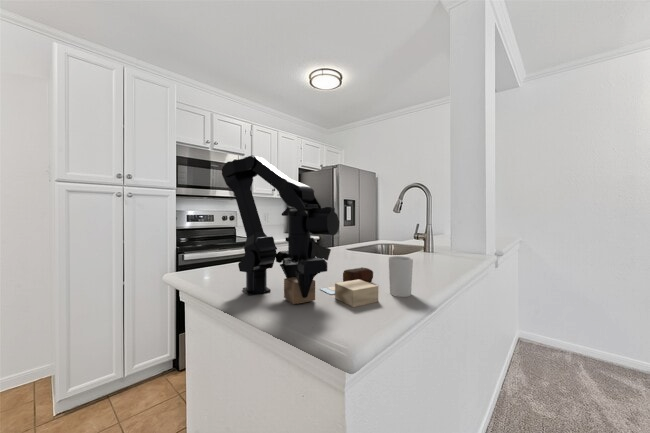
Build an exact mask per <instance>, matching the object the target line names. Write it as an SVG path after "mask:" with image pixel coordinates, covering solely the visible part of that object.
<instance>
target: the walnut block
mask: <svg viewBox="0 0 650 433" xmlns="http://www.w3.org/2000/svg"><path fill="white" fill-rule="evenodd" d="M283 299H285V300H286V301H288V302H290V303H292V305H298V304H302V303H303V304H304V303H308V302H312V301H313V302H314V301H316V280H314V279H313V281H312V284H311V287H310V290H309V293H308V296H307V297H306V298H303V297H302V294H301V291H300V287H299V284H298V280H297V277H293V278H286V277H285V278H283Z"/></svg>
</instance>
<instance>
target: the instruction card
mask: <svg viewBox="0 0 650 433" xmlns="http://www.w3.org/2000/svg"><path fill="white" fill-rule="evenodd" d="M319 290H320V291H321V292H324V293H326V294H328V295H330V296H333V295H335V285H334V286H329V287H323V288H319Z"/></svg>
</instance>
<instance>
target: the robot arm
mask: <svg viewBox="0 0 650 433" xmlns="http://www.w3.org/2000/svg"><path fill="white" fill-rule="evenodd" d="M221 174H222V178H223V180H224V182H225V185H226V186H227V187H228V188H229V189H230V190H231V191H232V192H233V194H234V198H235V201H236V204H237V208H238V211H239V214H240V219H241V222H242V225H243V228H244V233H245V235H246V239H245V243H244V248H243V249H244V256H242V258H241V260H239V262H238V264H237V265H238V271H239V272H243V273H245V275H246V276H245V280H246V282H245V287H242V290H243V292H244V293H245V294H247V295H248V296H249V295H250V296H252V295H256V294H257V295H258V294H264V293H269V292H271V289H270V288H269V287H267V285H268V284H267V281H268V280H267V274H268V273H267V271H268V269H273V267H274V264H275V262H276V263H279V267H280V268H281V270H282V272H283V274H284V276H285V278H293V277H297V280H298V284H299V287H300V291H301V294H302V297H303V298H306V297H307V296H308V293H309V290H310V287H311V284H312V281H313V280H314V278H315V276H317V275H318V274H321V273H324V272H328V261H329V258H330V255H331V251H332V249H331V248H329V247H325V246H322V245H320V242H317V241H316V240H315V239H314V237H312V236H311V235H317V236H318V235H319V236H321V235H322V236H336V235H337V233H338V231H339V228H340V220H339V217H338V214H337V213H336V210H335V208H336V207H335V206H325V207H322V205H321V204H320V202H319V201H318V199H317V197H316V196H315V191H314V188H312V187H311V186H309V185H307V184H304V183H303V182H299V181H297V180H295V179H291V178H290V177H289V176H287V175H286V174H284V173H283V172H282V171H280V170H279V169H278V168H276V166H274V165H272V164H270V163H269V162H268V161H267V160H266V159H265V158H263V157H261V156H257V155H248V156H246V157H244V158H239V159H234V160H230V161H227V162H225V163H224V165H223V166H222V167H221ZM257 176H259V177H260V178H262V179H263V180H264V181H265V182H266V183H268V184H270V186H272V188H274V189H276V190H277V192H278V193H279V194H278V195H279V196H280V198H281V200H282V201H283V202H284V203H285V204H286V205H287V207H286V209H285V210H283V212H282V213H281V216H283V217H284V216H286V217H287V218H288V224H287V225H288V227H287V228H288V230H287V231H288V232H287V233H288V235H287V236H286V237H285V242H286V243H287V242H288V244H287V245H288V248H287V249H288V250H283V251H282V250H281V251H278V252H277V250H278V247H277V246H276V244H275V243H276V242H275V239H274V237H273V236H271V235H270V236H267V234H266V233H265V232H264V229H263V225H262V221H261V219H260V215H259V213H258V209H257V206H256V202H255V199H254V196H253V192H252V190H251V189H252V185H253V182H254V178H255V177H257Z"/></svg>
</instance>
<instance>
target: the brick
mask: <svg viewBox="0 0 650 433" xmlns="http://www.w3.org/2000/svg"><path fill="white" fill-rule="evenodd" d="M373 278H374V271H373V270H372V269H370V268H368V267H356V268H349V269H345V270H343V272H342V282H345V281H352V280H358V279H359V280H362V281H365V282H368V283H372V281H373Z"/></svg>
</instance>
